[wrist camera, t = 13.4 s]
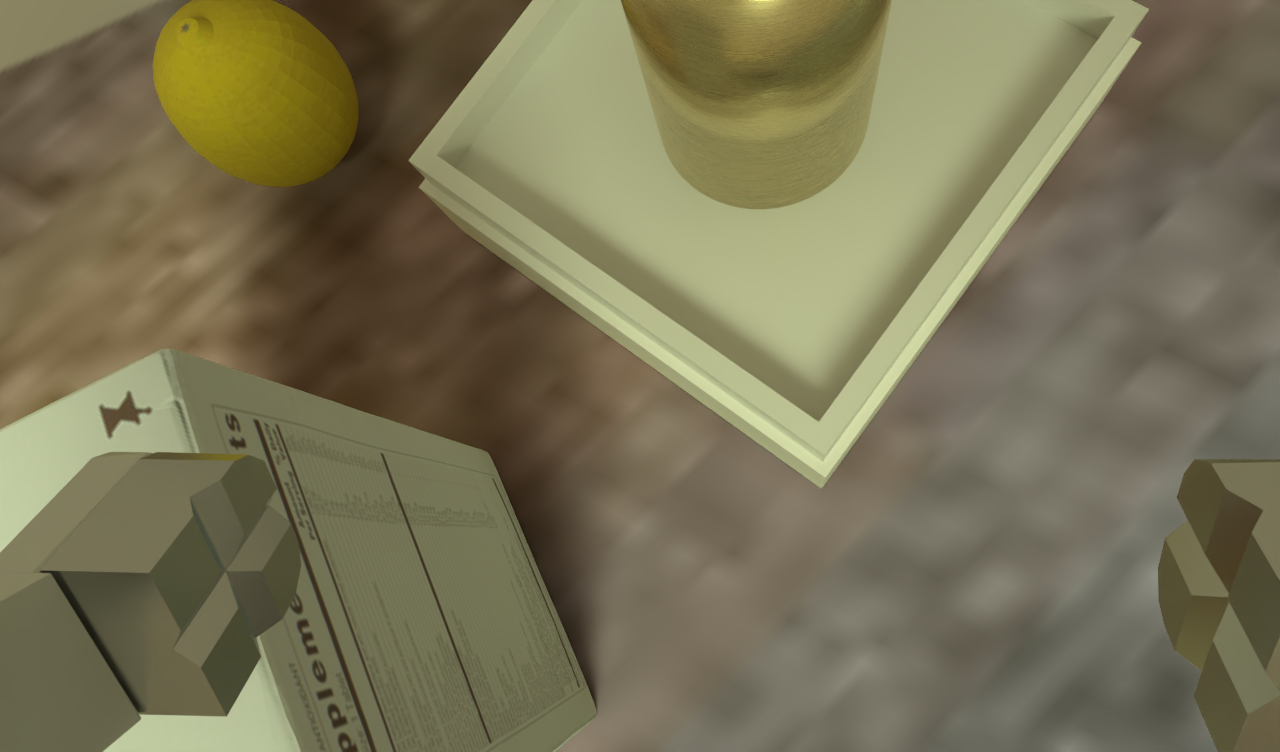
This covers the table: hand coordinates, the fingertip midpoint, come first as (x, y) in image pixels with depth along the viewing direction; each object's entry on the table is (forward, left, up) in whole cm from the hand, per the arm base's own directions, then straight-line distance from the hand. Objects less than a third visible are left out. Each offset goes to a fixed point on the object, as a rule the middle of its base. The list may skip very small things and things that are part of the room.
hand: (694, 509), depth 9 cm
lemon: (+21, -2, -22) cm, 30 cm away
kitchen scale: (+7, -10, -21) cm, 25 cm away
